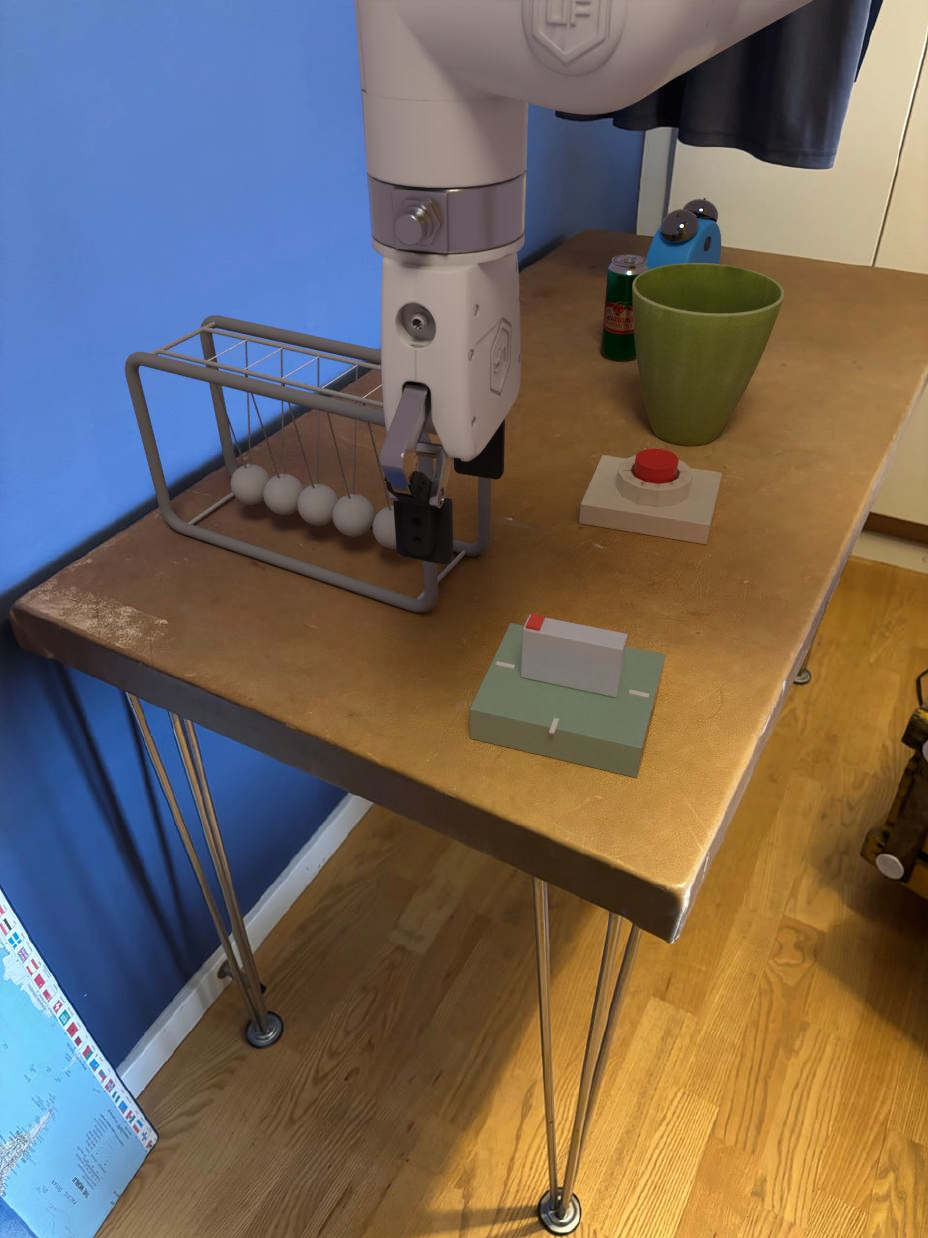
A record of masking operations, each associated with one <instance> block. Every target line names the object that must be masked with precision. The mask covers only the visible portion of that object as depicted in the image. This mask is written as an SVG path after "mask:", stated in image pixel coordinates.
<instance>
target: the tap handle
mask: <svg viewBox="0 0 928 1238" xmlns="http://www.w3.org/2000/svg"><path fill="white" fill-rule="evenodd" d="M628 638H629V635H628V633H626V632H621V631H616V630H611V629H606V628H600V627H595V626H592V625H591V626H590V625H586V624H581V623H575V622H569V621H565V620H560V619H555V618H550V617H546V615H545V614H540V613H539V614H538V613H533V612H531V613H530V614H529V615H528V617H527V619H526V621H525V623H524V628H523V633H522V659H521V677H523V678H527V679H532V680H537V681H541V682H546V683H550V684H555V685H560V686H564V687H569V688H574V689H578V690H583V691H587V692H592V693H597V694H601V695H606V696H611V697H615V698H616V697H617V696H618V692H619V689H620V686H621V682H622V675H623V668H624V660H625V653H626V646H628Z"/></svg>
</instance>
